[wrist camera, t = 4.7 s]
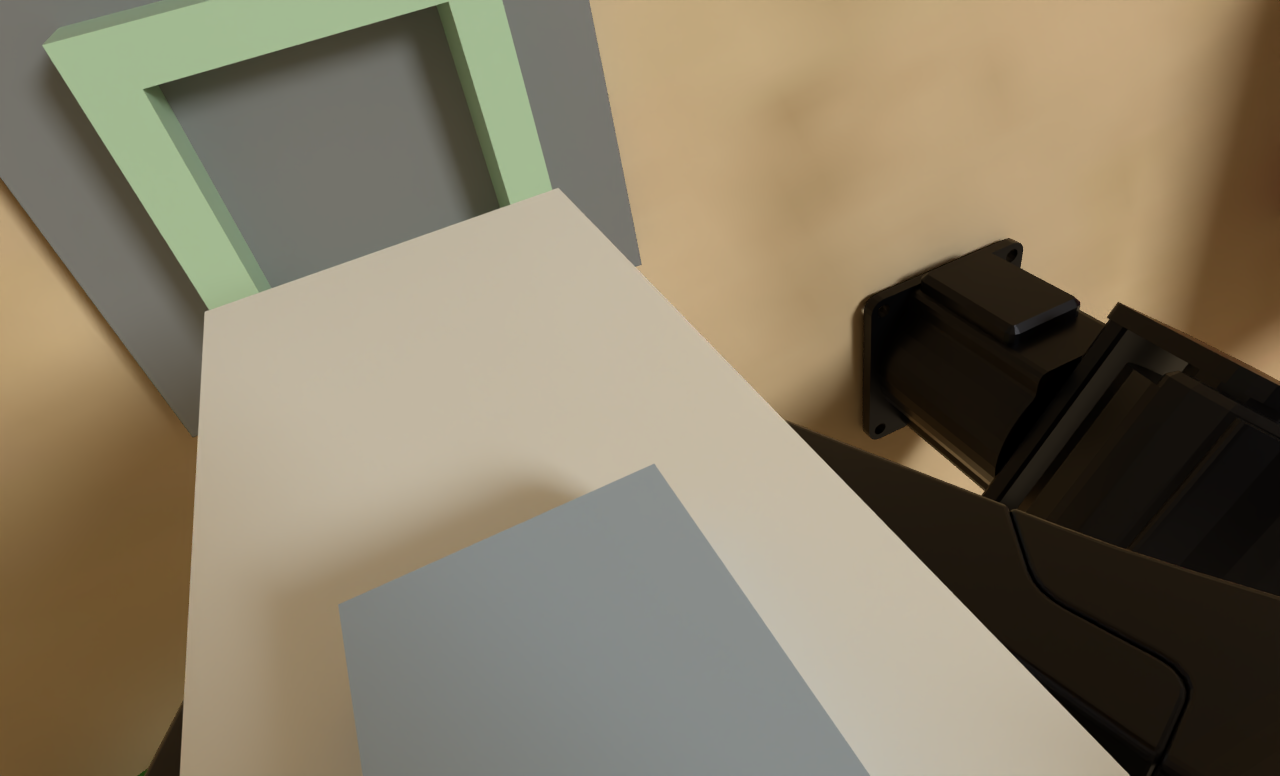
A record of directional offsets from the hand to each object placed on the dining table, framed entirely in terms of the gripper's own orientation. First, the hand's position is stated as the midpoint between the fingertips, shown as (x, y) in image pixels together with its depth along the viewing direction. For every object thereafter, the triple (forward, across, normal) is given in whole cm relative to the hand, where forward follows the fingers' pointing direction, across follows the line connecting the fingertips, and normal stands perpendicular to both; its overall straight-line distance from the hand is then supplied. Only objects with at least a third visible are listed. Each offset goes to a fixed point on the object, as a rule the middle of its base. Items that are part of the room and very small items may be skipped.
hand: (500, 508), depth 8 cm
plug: (+2, 0, 0) cm, 2 cm away
